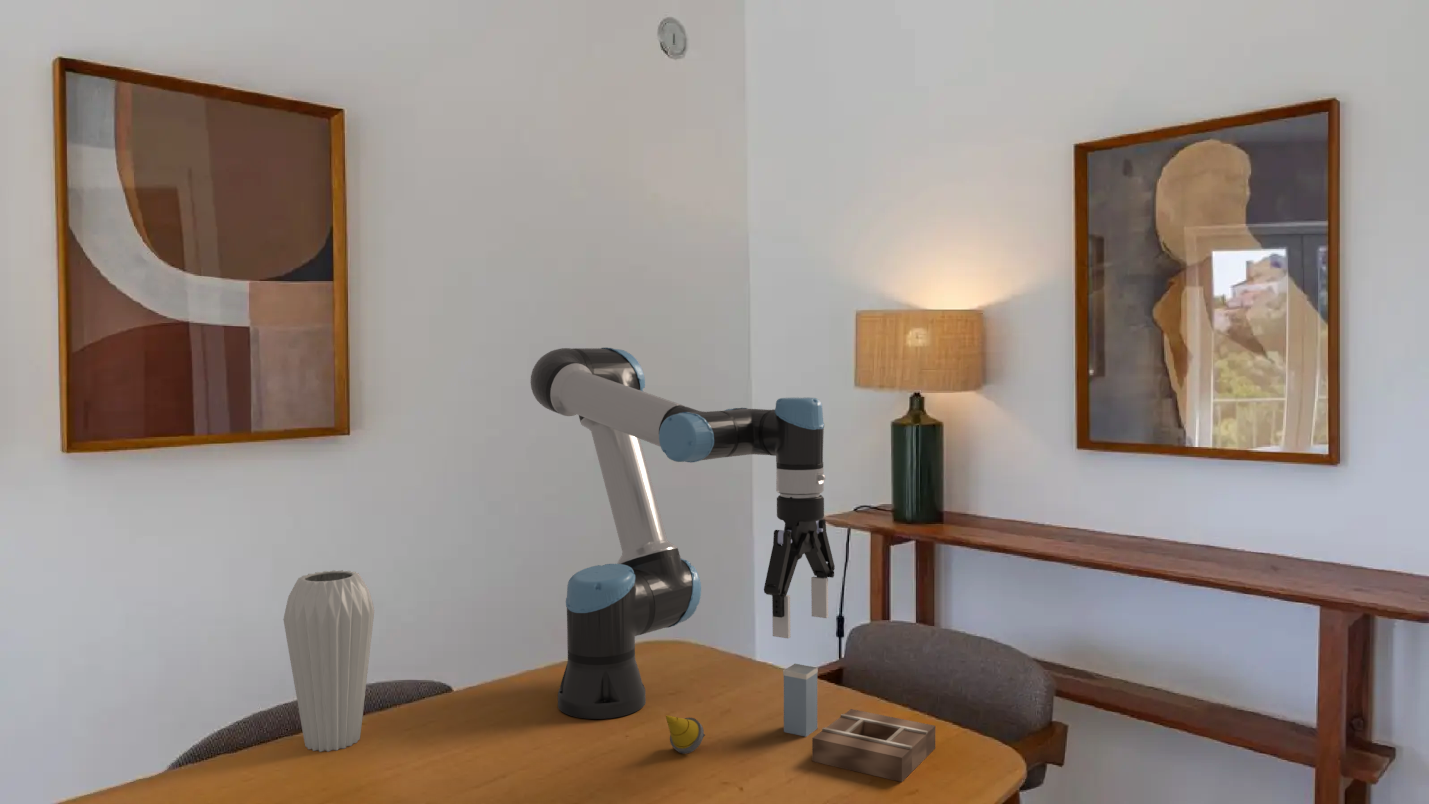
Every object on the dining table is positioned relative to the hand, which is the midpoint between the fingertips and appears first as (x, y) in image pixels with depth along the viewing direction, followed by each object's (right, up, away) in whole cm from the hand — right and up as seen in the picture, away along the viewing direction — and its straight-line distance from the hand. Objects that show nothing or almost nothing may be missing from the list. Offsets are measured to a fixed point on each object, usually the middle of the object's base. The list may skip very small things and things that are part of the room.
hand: (801, 626), depth 157 cm
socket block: (+10, -17, -9) cm, 22 cm away
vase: (-74, -18, -3) cm, 76 cm away
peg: (0, -17, +1) cm, 17 cm away
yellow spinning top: (-18, -18, -8) cm, 27 cm away
